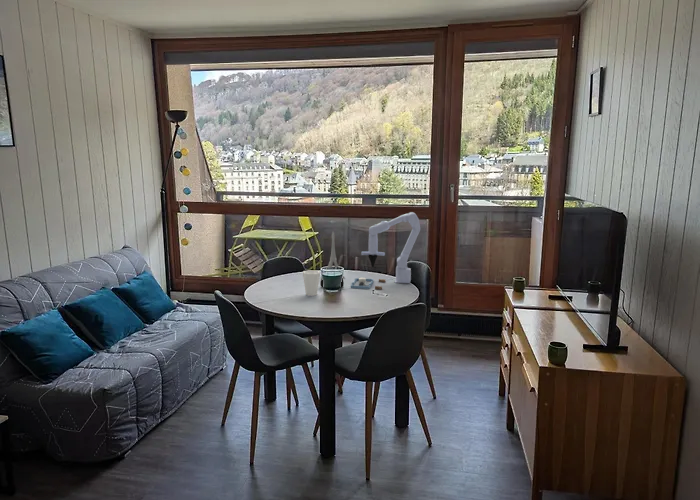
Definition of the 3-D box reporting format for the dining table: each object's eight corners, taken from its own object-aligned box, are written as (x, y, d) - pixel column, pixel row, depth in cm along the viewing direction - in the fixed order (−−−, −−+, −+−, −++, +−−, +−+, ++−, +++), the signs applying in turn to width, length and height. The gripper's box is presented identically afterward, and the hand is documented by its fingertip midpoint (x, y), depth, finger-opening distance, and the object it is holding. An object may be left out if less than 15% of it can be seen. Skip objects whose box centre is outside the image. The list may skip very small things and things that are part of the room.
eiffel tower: (321, 275, 332) (321, 230, 327) (341, 274, 334) (341, 230, 329) (324, 279, 319) (324, 233, 314) (345, 278, 321) (345, 232, 316)
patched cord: (366, 282, 312) (366, 276, 311) (364, 287, 300) (364, 280, 299) (360, 282, 312) (360, 276, 312) (357, 287, 301) (357, 280, 300)
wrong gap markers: (385, 281, 314) (385, 279, 313) (381, 289, 294) (381, 287, 294) (379, 281, 314) (379, 279, 314) (374, 289, 295) (374, 286, 295)
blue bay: (373, 281, 315) (373, 277, 314) (369, 288, 296) (369, 285, 296) (356, 280, 317) (356, 277, 316) (350, 287, 298) (350, 284, 298)
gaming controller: (344, 286, 302) (344, 270, 300) (343, 288, 296) (343, 272, 294) (321, 285, 303) (321, 269, 302) (319, 288, 297) (319, 271, 296)
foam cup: (317, 297, 278) (317, 274, 276) (301, 296, 280) (300, 273, 278) (321, 292, 287) (321, 270, 285) (306, 291, 289) (305, 269, 287)
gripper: (360, 245, 308) (360, 267, 311) (384, 246, 306) (383, 268, 308) (362, 244, 315) (362, 265, 318) (385, 244, 313) (384, 266, 315)
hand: (372, 266), depth 313 cm, fingers closed
